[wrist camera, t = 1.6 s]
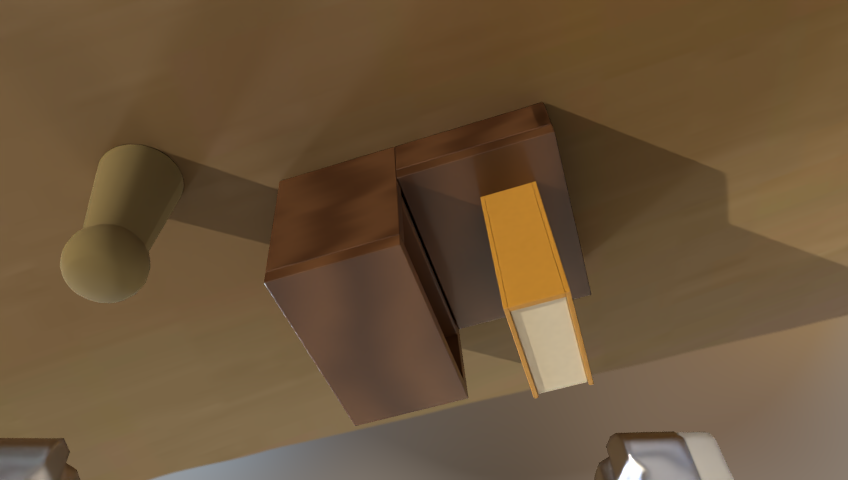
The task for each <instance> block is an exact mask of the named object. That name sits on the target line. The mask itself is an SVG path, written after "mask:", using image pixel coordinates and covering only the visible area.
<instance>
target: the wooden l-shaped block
mask: <svg viewBox="0 0 848 480" xmlns="http://www.w3.org/2000/svg"><path fill="white" fill-rule="evenodd" d="M535 181H536V184H537V187H538V190H539V193H540V196H541V199H542V203H543V206H544V209H545V212H546V215H547V218H548V222H549V225H550V228H551V231H552V234H553V237H554V241H555V244H556V247H557V250H558V253H559V256H560V260H561V263H562V266H563V269H564V272H565V275H566V278H567V282H568V285H569V288H570V291H571V295H572V299H577V298H580V297H584V296H588V295H591V291H590V287H589V282H588V278H587V273H586V269H585V264H584V260H583V256H582V251H581V247H580V242H579V238H578V233H577V229H576V224H575V220H574V216H573V211H572V207H571V202H570V198H569V193H568V189H567V184H566V180H565V176H564V171H563V167H562V162H561V158H560V153H559V149H558V144H557V140H556V136H555V131H554V129H553V126H552V124H551V121H550V118H549V116H548V113H547V111H546V108H545V106H544V103H543V102H542V103H538V104H535V105H532V106H528V107H525V108H522V109H519V110H515V111H512V112H509V113H505V114H502V115H499V116H495V117H492V118H489V119H485V120H482V121H479V122H476V123H472V124H469V125H466V126H462V127H459V128H456V129H452V130H449V131H446V132H442V133H439V134H436V135H432V136H429V137H426V138H423V139H419V140H416V141H413V142H409V143H406V144H403V145H399V146H396V147H392V148H389V149H385V150H382V151H379V152H375V153H372V154H369V155H365V156H362V157H359V158H355V159H352V160H349V161H346V162H342V163H339V164H336V165H332V166H329V167H326V168H322V169H319V170H316V171H312V172H309V173H306V174H302V175H299V176H296V177H293V178H289V179H286V180H283V181H280V182H279V189H278V195H277V202H276V208H275V214H274V221H273V227H272V234H271V240H270V247H269V253H268V260H267V266H266V273H265V279H264V284H265V285H266V287H267V289H268V290H269V292H270V293H271V295H272V296H273V298H274V299H275V301H276V303H277V304H278V306H279V307H280V309H281V310H282V312H283V314H284V315H285V317H286V318H287V320H288V321H289V323H290V325H291V326H292V328H293V329H294V331H295V332H296V334H297V336H298V337H299V339H300V340H301V342H302V343H303V345H304V347H305V348H306V350H307V351H308V353H309V354H310V356H311V358H312V359H313V361H314V362H315V364H316V365H317V367H318V368H319V370H320V372H321V373H322V375H323V376H324V378H325V379H326V381H327V383H328V384H329V386H330V387H331V389H332V390H333V392H334V394H335V395H336V397H337V398H338V400H339V401H340V403H341V405H342V406H343V408H344V409H345V411H346V412H347V414H348V416H349V417H350V419H351V420H352V422H353V423H354V425H355V426H357V425H361V424H365V423H369V422H373V421H377V420H382V419H386V418H390V417H394V416H398V415H402V414H406V413H410V412H414V411H418V410H422V409H426V408H430V407H435V406H439V405H443V404H447V403H451V402H455V401H459V400H463V399H467V398H468V392H467V385H466V378H465V371H464V363H463V356H462V349H461V341H460V334H459V329H461V328H465V327H469V326H473V325H477V324H480V323H484V322H488V321H492V320H496V319H500V318H503V317H506V315H505V312H504V309H503V305H502V300H501V295H500V290H499V286H498V281H497V276H496V271H495V266H494V262H493V257H492V252H491V247H490V242H489V238H488V233H487V228H486V223H485V218H484V213H483V209H482V204H481V199H480V197H482V196H486V195H490V194H493V193H497V192H500V191H504V190H507V189H511V188H514V187H518V186H521V185H525V184H528V183H532V182H535ZM401 190H402V192H403V195H404V197H405V200H406V202H407V205H408V207H409V209H410V212H411V214H412V217H413V219H414V221H415V224H416V226H417V229H418V231H419V234H420V236H421V238H422V241H423V243H424V246H425V248H426V250H427V253H428V255H429V258H430V260H431V263H432V265H433V267H434V270H435V272H436V275H437V277H438V279H439V282H440V284H441V287H442V289H443V290H441V289H440V287H439V284H438V282H437V280H436V277H435V275H434V272H433V270H432V268H431V265H430V263H429V260H428V258H427V256H426V253H425V251H424V248H423V246H422V244H421V241H420V239H419V236H418V234H417V232H416V229H415V227H414V224H413V222H412V220H411V217H410V215H409V212H408V210H407V208H406V205H405V203H404V200H403V198H402V196H401Z"/></svg>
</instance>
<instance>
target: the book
mask: <svg viewBox="0 0 848 480" xmlns="http://www.w3.org/2000/svg"><path fill="white" fill-rule="evenodd" d="M480 199H481V204H482V209H483V213H484V218H485V223H486V228H487V233H488V238H489V242H490V247H491V252H492V257H493V262H494V266H495V271H496V276H497V281H498V286H499V290H500V295H501V300H502V305H503V309H504V312H505V315H506V318H507V321H508V324H509V327H510V330H511V333H512V335H513V338H514V341H515V344H516V347H517V350H518V353H519V356H520V359H521V362H522V364H523V367H524V370H525V373H526V376H527V379H528V382H529V385H530V388H531V391H532V393H533V396H534V398H538V393H543V392H547V391H551V390H555V389H559V388H564V387H568V386H572V385H576V384H580V383H584V382H587V381H588V382H589V385H592V384H594V383H593V379H592V375H591V371H590V367H589V363H588V359H587V355H586V351H585V347H584V343H583V339H582V335H581V331H580V327H579V323H578V319H577V315H576V311H575V307H574V303H573V299H572V295H571V291H570V288H569V285H568V282H567V278H566V275H565V272H564V269H563V266H562V263H561V260H560V256H559V253H558V250H557V247H556V244H555V241H554V237H553V234H552V231H551V228H550V225H549V222H548V218H547V215H546V212H545V209H544V206H543V203H542V199H541V196H540V193H539V190H538V187H537V184H536V181H535V182H532V183H528V184H525V185H521V186H518V187H514V188H511V189H507V190H504V191H500V192H497V193H493V194H490V195H486V196H482V197H480Z"/></svg>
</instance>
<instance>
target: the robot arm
mask: <svg viewBox="0 0 848 480" xmlns="http://www.w3.org/2000/svg"><path fill="white" fill-rule="evenodd" d="M606 448H607V451H608V455H609V457H608V458H606V459H605V460H603V461H601V462H600V463H599V465H598V468H597V470H596V473H595V478H594V480H734V478H733V476H732V474H731V472H730V470H729V468H728V465H727V463H726V461H725V459H724V457H723V454H722V452H721V450H720V448H719V446H718V444H717V441H716V439H715V438H714V437H713V436H712V435H711V434H710V433H707V432H677V433H675V432H639V433H638V432H636V433H615V434H613V435H612V436H610V439H609V441H608V443H607V446H606ZM69 453H70V451H69V449H68V446H67V444H66V442H65V440H64V438H0V480H80V478H79V475H78V472H77V470H76V469H75V468H73V467H72V466H70V465H68V464H67V463H66V461H67V458H68V456H69Z"/></svg>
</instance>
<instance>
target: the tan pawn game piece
mask: <svg viewBox="0 0 848 480" xmlns="http://www.w3.org/2000/svg"><path fill="white" fill-rule="evenodd" d="M183 189H184V184H183V176H182V174H181V172H180V170H179V168H178V166H177V165H176V164H175V163H174V162H173V161H172V160H171V159H170V158H169V157H168V156H166V155H164V154H163V153H161V152H160V151H158V150H156V149H153V148H150V147H147V146H144V145H133V144H128V145H122V146H117V147H115V148H113V149H111V150H110V151H108V152H106V153H105V154H104V156H103V157H102V158H101V160H100V161H99V165H98V169H97V173H96V177H95V181H94V185H93V189H92V193H91V197H90V201H89V205H88V209H87V213H86V217H85V221H84V225H83V229H82V230H80V231H78V232H76V233H75V234H74V235H73V236H72V237H71V239H70V240H69V241H68V242H67V243H66V245H65V247H64V249H63V251H62V255H61V260H60V268H61V272H62V276H63V278H64V280H65V282H66V283H67V284H68V286H69V287H70V288H71V289H72V290H73V291H74V292H76V293H77V294H78V295H80V296H82V297H84V298H86V299H88V300H92V301H96V302H100V303H115V302H120V301H123V300H125V299H127V298H129V297H131V296H133V295H135V294H136V293H137V292H138V291H139V290H140V289H141V288H142V287H143V285H144V284H145V283H146V280H147V277H148V274H149V270H150V257H149V250H150V249H151V247H152V245H153V243H154V242H155V240H156V238H157V237H158V235H159V233H160V232H161V230H162V228H163V226H164V225H165V223H166V221H167V220H168V218H169V216H170V215H171V213H172V211H173V210H174V208H175V206H176V204H177V203H178V201H179V199H180V198H181V195H182V192H183Z"/></svg>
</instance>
